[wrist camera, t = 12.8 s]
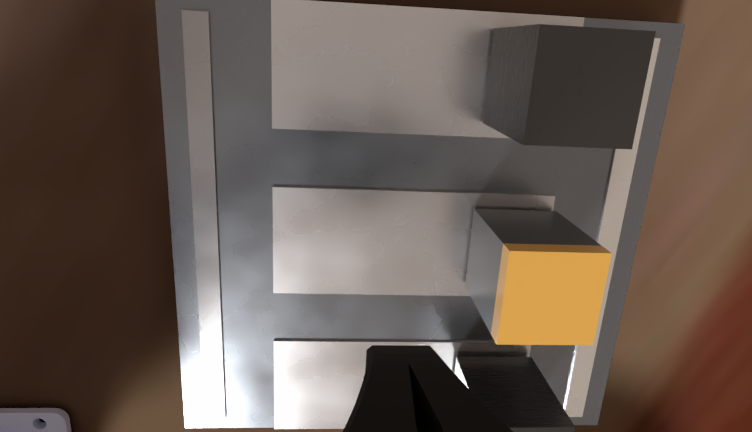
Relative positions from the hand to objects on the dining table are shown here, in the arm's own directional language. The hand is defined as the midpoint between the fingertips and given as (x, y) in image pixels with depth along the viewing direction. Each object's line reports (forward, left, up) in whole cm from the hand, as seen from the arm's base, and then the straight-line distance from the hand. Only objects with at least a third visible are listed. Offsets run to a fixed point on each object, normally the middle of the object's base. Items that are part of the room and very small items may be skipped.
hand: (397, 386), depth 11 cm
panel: (+2, 0, -10) cm, 10 cm away
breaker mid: (+5, 0, -8) cm, 10 cm away
